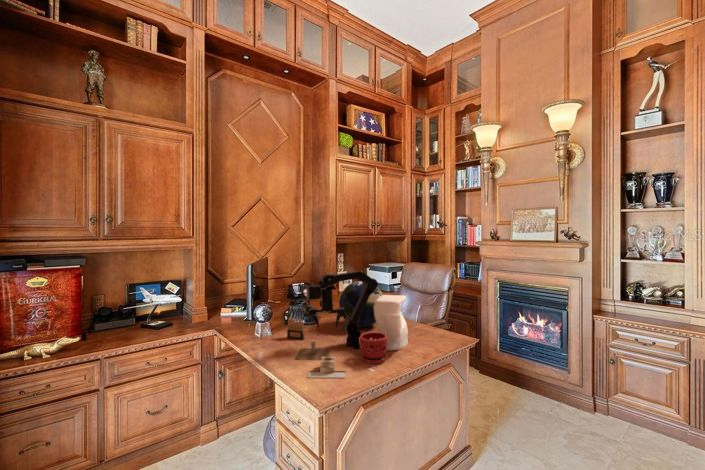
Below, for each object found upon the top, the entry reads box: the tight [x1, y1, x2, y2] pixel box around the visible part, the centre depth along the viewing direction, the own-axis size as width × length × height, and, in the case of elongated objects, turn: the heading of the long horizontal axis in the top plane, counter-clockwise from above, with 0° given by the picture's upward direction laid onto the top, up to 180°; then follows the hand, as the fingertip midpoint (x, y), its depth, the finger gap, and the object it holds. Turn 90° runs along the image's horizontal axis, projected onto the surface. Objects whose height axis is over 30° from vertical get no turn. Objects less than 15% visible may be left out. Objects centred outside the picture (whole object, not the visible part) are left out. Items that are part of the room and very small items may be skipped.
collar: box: [319, 356, 336, 373], centre depth 147 cm, size 6×6×5 cm
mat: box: [307, 370, 347, 379], centre depth 147 cm, size 16×14×1 cm
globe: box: [338, 280, 384, 328], centre depth 217 cm, size 30×30×30 cm
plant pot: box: [359, 331, 387, 364], centre depth 160 cm, size 13×13×12 cm
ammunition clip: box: [286, 317, 305, 341], centre depth 192 cm, size 11×2×12 cm, turn 69°
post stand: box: [294, 341, 331, 361], centre depth 165 cm, size 16×16×7 cm
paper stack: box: [374, 294, 409, 351], centre depth 179 cm, size 21×27×26 cm
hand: (327, 327), depth 173 cm, fingers open, 9 cm apart
